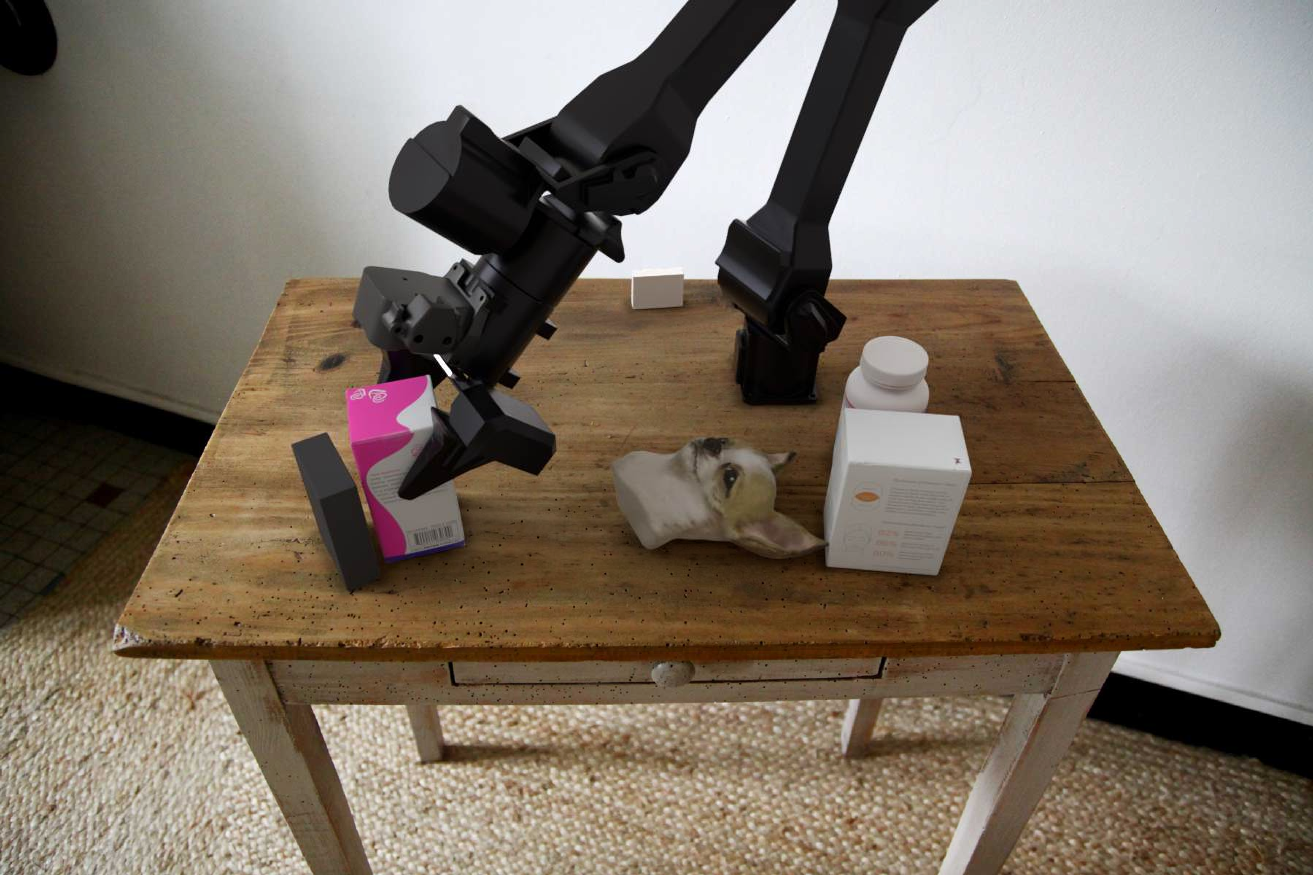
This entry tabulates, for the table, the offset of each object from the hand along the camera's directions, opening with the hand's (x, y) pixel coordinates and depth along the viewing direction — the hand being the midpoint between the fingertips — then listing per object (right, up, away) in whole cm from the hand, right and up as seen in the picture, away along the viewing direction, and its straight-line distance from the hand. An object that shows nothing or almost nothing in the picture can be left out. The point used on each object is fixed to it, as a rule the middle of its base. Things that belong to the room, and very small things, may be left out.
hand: (385, 466), depth 62 cm
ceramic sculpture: (+22, -5, +6) cm, 24 cm away
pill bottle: (+35, -1, +11) cm, 37 cm away
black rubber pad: (-3, -6, +3) cm, 8 cm away
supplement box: (+1, -5, +5) cm, 7 cm away
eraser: (+18, +15, +28) cm, 36 cm away
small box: (+34, -6, +5) cm, 35 cm away
